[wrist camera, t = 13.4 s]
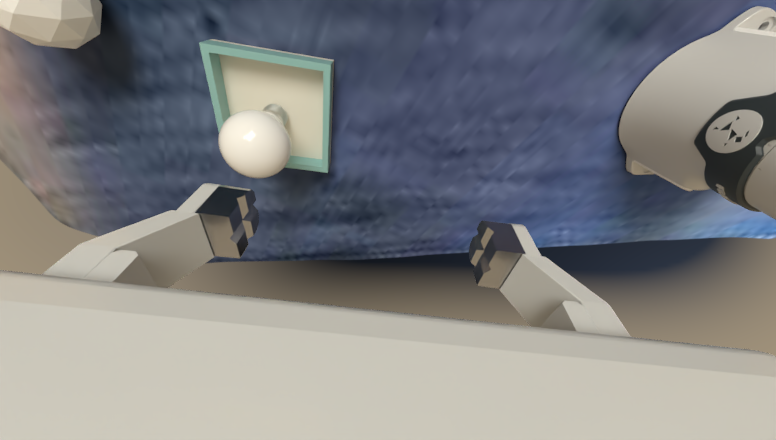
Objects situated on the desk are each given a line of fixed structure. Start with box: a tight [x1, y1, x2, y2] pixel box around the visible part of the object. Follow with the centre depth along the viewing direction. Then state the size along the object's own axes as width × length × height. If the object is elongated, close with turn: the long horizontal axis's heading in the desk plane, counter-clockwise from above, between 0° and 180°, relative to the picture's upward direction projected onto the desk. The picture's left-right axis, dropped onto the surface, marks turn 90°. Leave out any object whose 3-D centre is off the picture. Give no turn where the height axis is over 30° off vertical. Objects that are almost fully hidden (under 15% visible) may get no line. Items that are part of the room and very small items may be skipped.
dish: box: [199, 39, 334, 173], centre depth 32 cm, size 12×12×3 cm
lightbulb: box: [218, 104, 292, 178], centre depth 29 cm, size 6×6×11 cm
